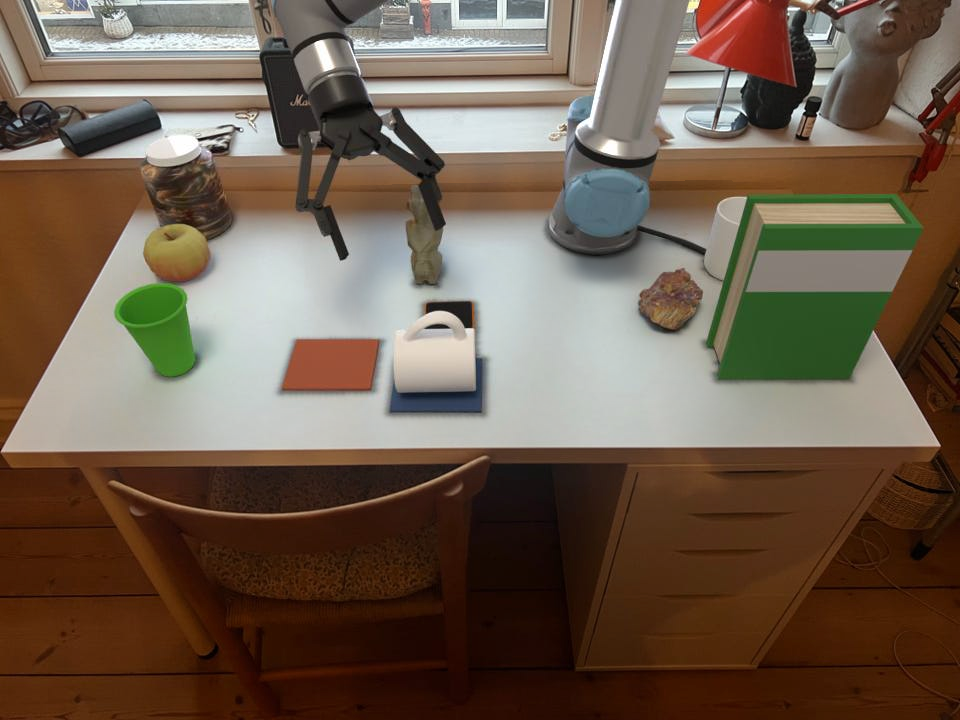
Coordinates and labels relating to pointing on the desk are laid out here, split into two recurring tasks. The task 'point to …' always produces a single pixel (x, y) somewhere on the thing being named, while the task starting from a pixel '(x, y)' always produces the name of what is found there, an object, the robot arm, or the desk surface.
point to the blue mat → (440, 399)
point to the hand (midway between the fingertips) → (394, 242)
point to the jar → (185, 185)
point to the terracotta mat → (331, 364)
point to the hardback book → (808, 283)
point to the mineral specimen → (671, 299)
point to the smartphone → (452, 312)
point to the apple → (176, 252)
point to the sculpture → (423, 240)
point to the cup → (159, 326)
